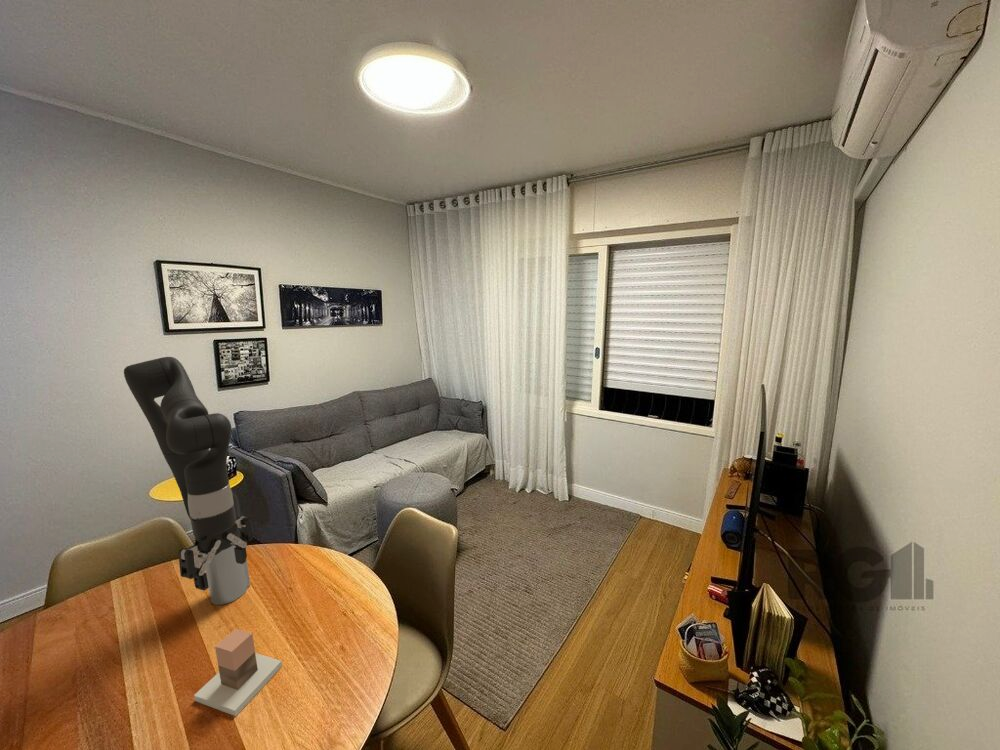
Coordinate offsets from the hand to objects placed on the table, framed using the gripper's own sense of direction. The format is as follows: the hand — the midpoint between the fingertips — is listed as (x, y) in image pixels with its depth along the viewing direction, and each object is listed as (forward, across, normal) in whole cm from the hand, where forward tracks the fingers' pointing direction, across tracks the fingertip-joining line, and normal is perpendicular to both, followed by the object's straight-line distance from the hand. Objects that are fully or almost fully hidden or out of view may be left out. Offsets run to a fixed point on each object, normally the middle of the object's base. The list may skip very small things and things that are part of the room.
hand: (223, 575), depth 84 cm
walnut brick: (+27, 0, 0) cm, 27 cm away
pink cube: (+22, 0, 0) cm, 22 cm away
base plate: (+28, 0, 0) cm, 28 cm away
